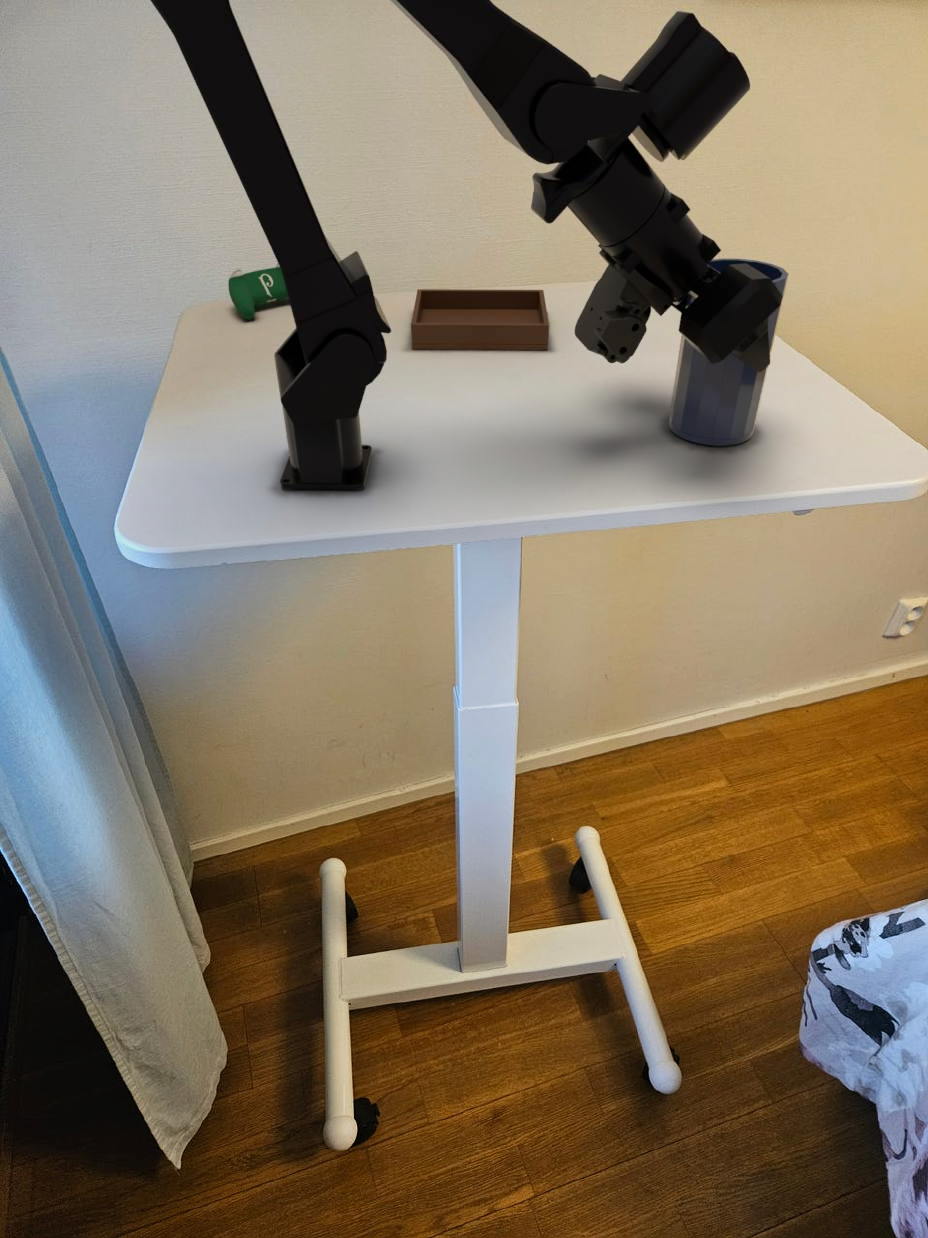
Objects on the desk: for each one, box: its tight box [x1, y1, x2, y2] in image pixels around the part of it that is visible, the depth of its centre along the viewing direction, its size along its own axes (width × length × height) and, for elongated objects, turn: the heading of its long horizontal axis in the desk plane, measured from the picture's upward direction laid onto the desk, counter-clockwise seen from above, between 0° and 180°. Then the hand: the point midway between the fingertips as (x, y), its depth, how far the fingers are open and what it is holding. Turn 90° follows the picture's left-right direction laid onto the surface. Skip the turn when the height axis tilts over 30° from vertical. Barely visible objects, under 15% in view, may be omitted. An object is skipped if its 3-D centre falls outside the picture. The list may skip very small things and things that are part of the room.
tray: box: [410, 288, 550, 351], centre depth 91 cm, size 11×14×3 cm
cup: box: [668, 258, 789, 447], centre depth 69 cm, size 7×7×13 cm
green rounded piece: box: [228, 262, 289, 321], centre depth 96 cm, size 9×4×6 cm
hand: (741, 349), depth 69 cm, fingers closed on cup, 7 cm apart
